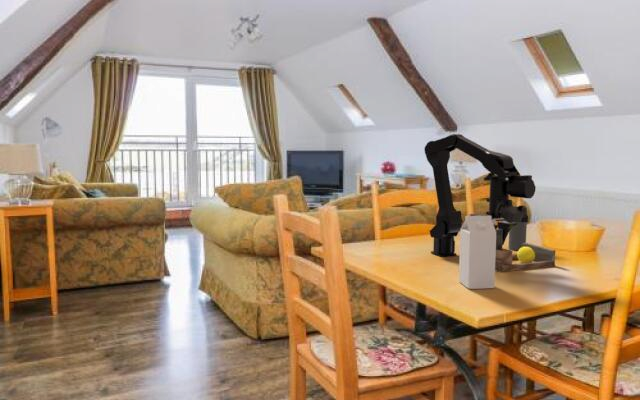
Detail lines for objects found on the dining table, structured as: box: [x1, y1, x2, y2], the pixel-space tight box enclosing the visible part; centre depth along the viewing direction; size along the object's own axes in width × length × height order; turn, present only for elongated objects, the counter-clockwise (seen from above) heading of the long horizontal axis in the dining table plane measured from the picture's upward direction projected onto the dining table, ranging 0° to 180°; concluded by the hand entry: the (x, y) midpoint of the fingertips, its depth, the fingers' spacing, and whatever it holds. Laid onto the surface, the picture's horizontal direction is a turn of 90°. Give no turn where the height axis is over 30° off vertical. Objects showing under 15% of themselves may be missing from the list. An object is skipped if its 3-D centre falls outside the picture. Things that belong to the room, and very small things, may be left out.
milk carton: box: [458, 215, 496, 290], centre depth 135 cm, size 7×7×19 cm
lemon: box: [516, 247, 535, 263], centre depth 161 cm, size 7×5×5 cm
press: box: [495, 242, 556, 273], centre depth 160 cm, size 21×13×5 cm, turn 110°
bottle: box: [507, 222, 528, 252], centre depth 182 cm, size 6×6×15 cm
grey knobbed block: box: [495, 228, 513, 265], centre depth 157 cm, size 4×9×11 cm, turn 20°
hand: (497, 245), depth 157 cm, fingers closed on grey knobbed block, 3 cm apart
